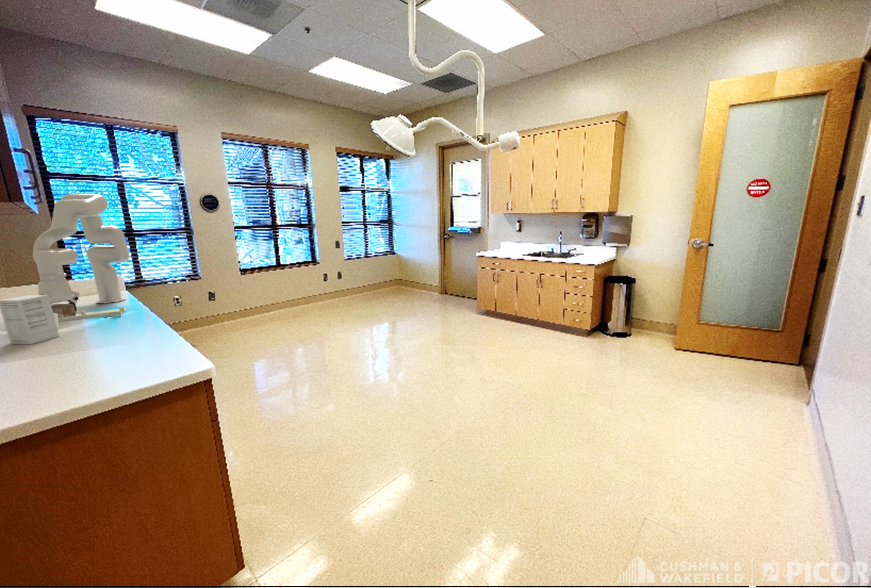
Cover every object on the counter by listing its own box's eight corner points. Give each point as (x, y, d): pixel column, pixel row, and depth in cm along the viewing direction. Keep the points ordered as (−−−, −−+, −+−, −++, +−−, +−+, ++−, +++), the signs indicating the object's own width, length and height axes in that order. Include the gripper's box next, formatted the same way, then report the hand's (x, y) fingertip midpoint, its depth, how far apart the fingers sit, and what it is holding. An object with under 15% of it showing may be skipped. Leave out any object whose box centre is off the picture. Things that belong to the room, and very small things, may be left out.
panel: (51, 319, 163) (50, 312, 163) (127, 310, 178) (126, 304, 177) (40, 326, 152) (38, 319, 151) (122, 316, 166) (120, 310, 165)
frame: (58, 316, 164) (55, 303, 163) (76, 316, 162) (73, 304, 161) (47, 318, 160) (44, 305, 158) (66, 319, 158) (63, 306, 157)
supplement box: (60, 336, 137) (50, 294, 134) (31, 344, 128) (19, 300, 125) (38, 336, 138) (28, 294, 135) (9, 344, 129) (-4, 299, 126)
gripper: (67, 274, 166) (75, 309, 170) (21, 280, 149) (31, 319, 153) (81, 274, 165) (88, 309, 169) (35, 280, 148) (45, 319, 152)
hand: (61, 314), depth 161 cm, fingers open, 9 cm apart
